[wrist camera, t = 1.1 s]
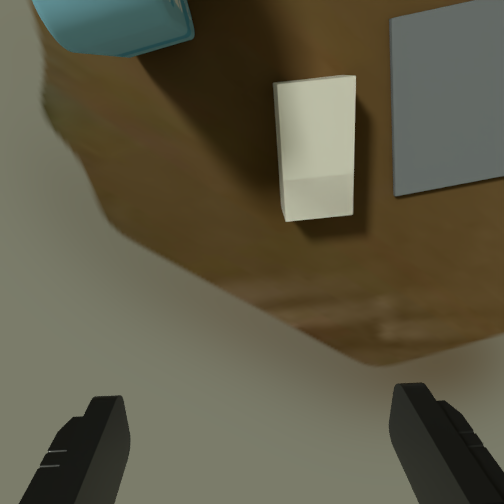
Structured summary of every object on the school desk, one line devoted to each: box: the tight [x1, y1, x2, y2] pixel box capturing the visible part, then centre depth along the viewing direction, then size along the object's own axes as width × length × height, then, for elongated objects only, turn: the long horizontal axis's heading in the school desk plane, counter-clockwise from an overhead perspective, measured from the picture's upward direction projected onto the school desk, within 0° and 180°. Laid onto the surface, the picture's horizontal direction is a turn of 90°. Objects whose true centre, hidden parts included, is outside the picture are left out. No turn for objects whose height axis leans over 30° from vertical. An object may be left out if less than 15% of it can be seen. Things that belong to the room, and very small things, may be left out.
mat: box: [389, 0, 504, 196], centre depth 26 cm, size 12×14×1 cm
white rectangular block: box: [273, 75, 356, 222], centre depth 26 cm, size 9×5×4 cm, turn 6°
